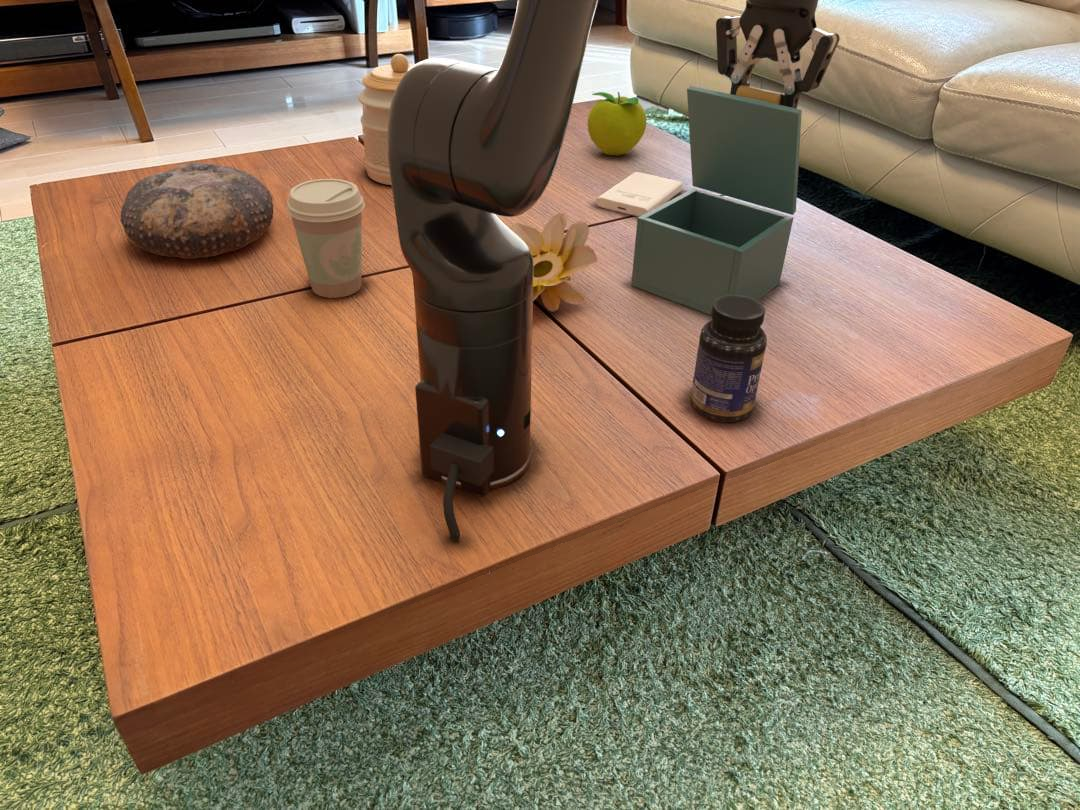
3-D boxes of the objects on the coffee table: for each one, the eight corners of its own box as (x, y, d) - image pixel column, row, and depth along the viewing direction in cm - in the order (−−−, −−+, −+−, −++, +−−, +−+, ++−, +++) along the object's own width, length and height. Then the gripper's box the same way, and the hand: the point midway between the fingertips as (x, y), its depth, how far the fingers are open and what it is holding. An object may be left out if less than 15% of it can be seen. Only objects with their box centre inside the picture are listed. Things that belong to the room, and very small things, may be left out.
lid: (798, 113, 87) (821, 87, 89) (686, 88, 94) (710, 65, 96) (792, 215, 97) (813, 189, 99) (692, 186, 104) (714, 162, 106)
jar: (354, 165, 133) (341, 48, 123) (430, 154, 138) (424, 40, 128) (382, 193, 124) (370, 69, 114) (462, 180, 129) (458, 60, 119)
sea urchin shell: (112, 271, 100) (90, 187, 96) (147, 234, 117) (129, 161, 113) (272, 257, 103) (258, 175, 99) (284, 223, 120) (272, 151, 116)
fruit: (615, 166, 135) (620, 103, 130) (576, 151, 141) (579, 90, 135) (653, 155, 140) (660, 94, 134) (614, 140, 146) (618, 81, 140)
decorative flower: (452, 262, 102) (469, 184, 96) (531, 264, 108) (552, 191, 102) (503, 326, 92) (527, 243, 86) (588, 325, 97) (614, 247, 92)
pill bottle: (752, 428, 79) (774, 327, 72) (687, 419, 80) (703, 319, 73) (752, 392, 84) (772, 294, 77) (691, 384, 84) (706, 287, 78)
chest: (729, 322, 95) (742, 251, 90) (630, 285, 102) (637, 217, 97) (779, 284, 103) (793, 217, 98) (684, 252, 110) (693, 187, 105)
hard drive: (682, 192, 127) (646, 219, 118) (633, 181, 130) (596, 206, 122) (683, 181, 126) (648, 208, 117) (634, 170, 129) (596, 195, 121)
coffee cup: (316, 310, 95) (300, 211, 88) (290, 281, 101) (273, 185, 94) (385, 292, 99) (375, 195, 92) (356, 264, 105) (344, 171, 98)
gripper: (711, -50, 88) (689, 115, 97) (841, -34, 80) (803, 142, 90) (744, -55, 93) (720, 102, 102) (870, -40, 85) (831, 128, 95)
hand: (759, 120), depth 96 cm, fingers closed on lid, 5 cm apart
